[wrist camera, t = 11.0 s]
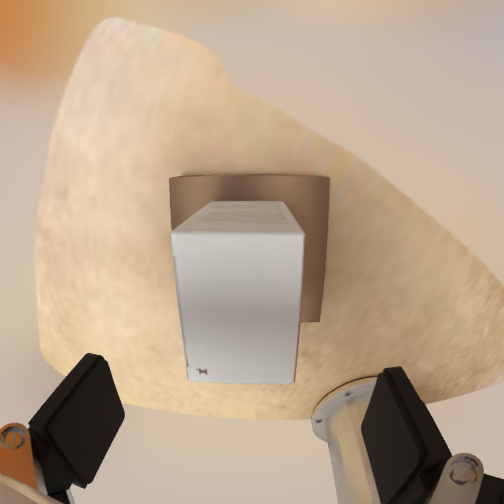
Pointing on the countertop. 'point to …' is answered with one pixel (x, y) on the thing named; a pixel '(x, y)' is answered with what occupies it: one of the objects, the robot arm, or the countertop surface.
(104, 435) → the robot arm
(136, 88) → the countertop surface
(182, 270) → the small box
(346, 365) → the countertop surface
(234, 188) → the walnut block
